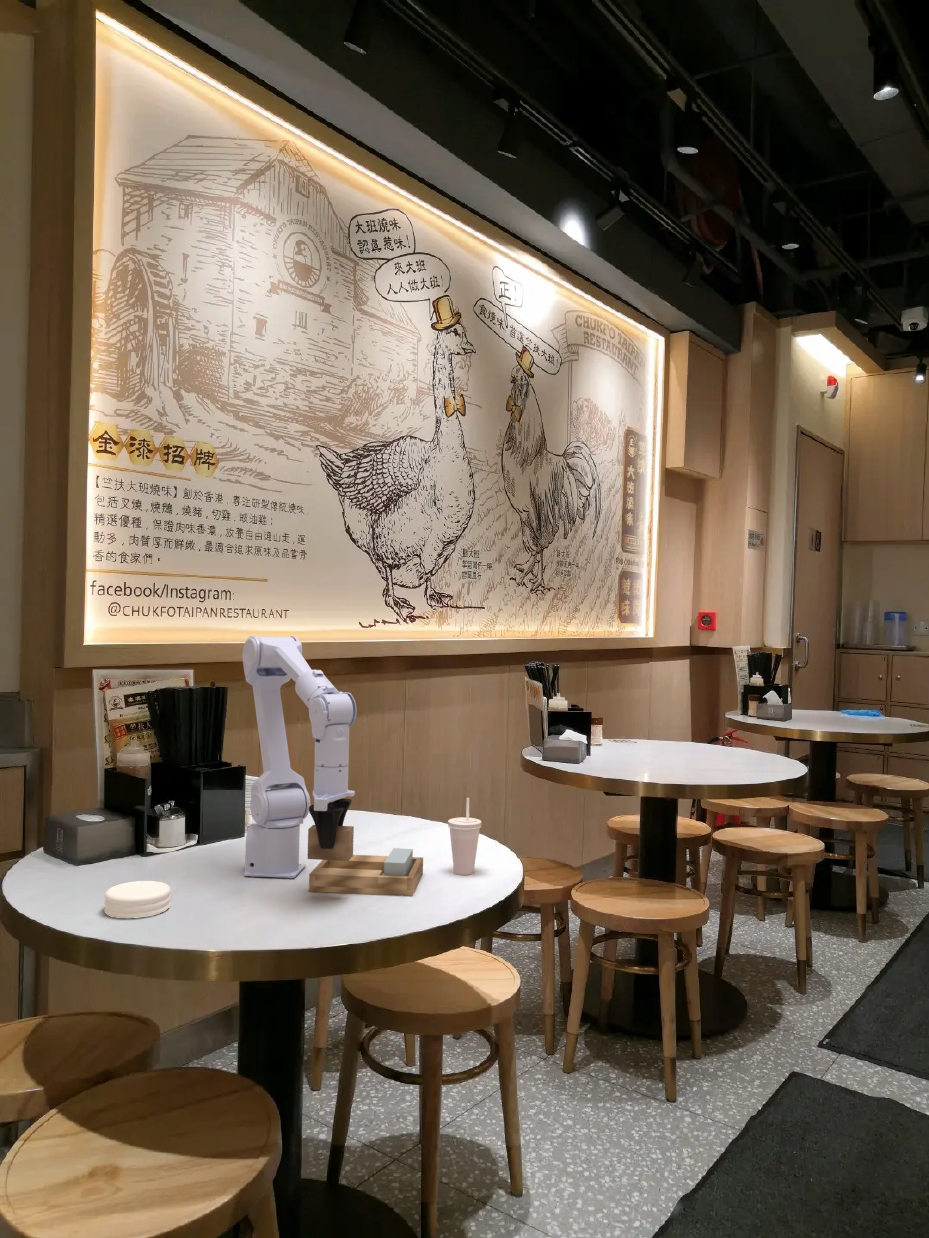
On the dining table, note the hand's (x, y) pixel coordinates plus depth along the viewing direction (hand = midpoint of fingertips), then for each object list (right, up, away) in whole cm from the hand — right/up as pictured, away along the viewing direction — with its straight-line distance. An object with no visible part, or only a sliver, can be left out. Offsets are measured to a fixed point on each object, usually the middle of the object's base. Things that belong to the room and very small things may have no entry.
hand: (329, 845), depth 149 cm
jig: (+5, -9, +9) cm, 14 cm away
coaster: (-30, -9, -8) cm, 32 cm away
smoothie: (+23, -10, +17) cm, 30 cm away
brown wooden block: (0, -2, 0) cm, 2 cm away
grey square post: (+11, -8, +9) cm, 16 cm away
